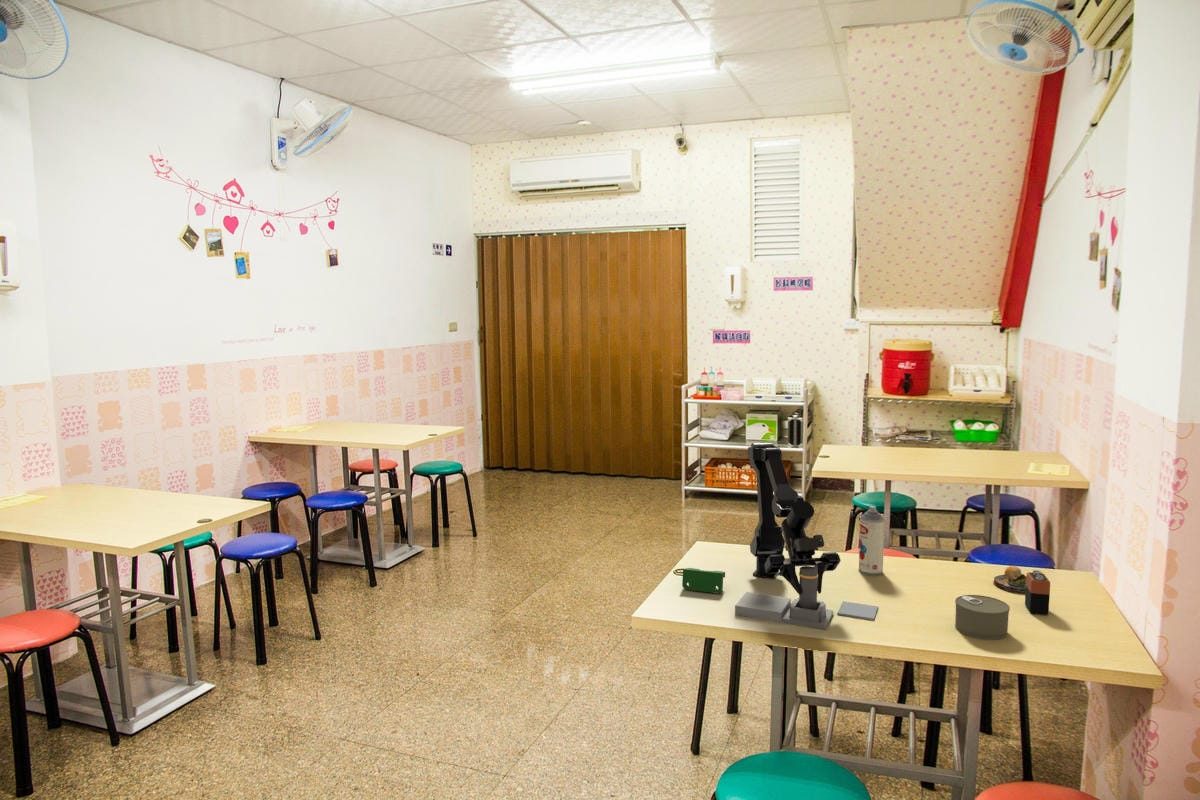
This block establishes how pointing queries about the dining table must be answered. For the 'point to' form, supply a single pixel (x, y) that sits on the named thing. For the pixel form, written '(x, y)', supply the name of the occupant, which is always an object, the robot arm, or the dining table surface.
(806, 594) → the plug
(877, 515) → the aerosol can
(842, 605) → the mat
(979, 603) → the can
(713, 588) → the clamp
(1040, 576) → the battery
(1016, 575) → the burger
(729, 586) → the dining table surface
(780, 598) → the socket block
